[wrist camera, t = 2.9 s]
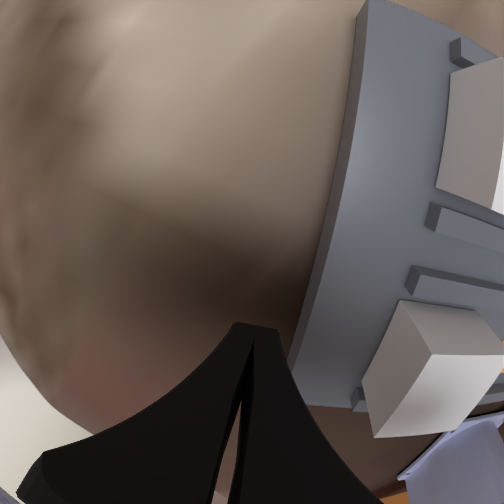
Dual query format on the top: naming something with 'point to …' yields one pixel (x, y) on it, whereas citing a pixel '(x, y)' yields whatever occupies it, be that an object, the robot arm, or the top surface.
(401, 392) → the tab
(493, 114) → the tab
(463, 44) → the switch board
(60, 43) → the top surface
